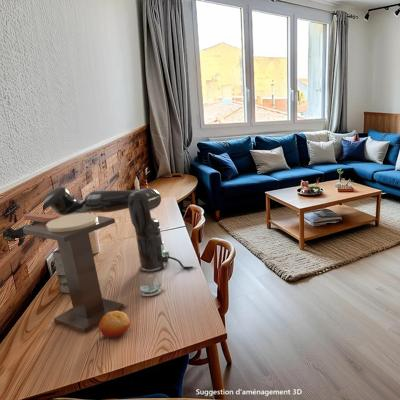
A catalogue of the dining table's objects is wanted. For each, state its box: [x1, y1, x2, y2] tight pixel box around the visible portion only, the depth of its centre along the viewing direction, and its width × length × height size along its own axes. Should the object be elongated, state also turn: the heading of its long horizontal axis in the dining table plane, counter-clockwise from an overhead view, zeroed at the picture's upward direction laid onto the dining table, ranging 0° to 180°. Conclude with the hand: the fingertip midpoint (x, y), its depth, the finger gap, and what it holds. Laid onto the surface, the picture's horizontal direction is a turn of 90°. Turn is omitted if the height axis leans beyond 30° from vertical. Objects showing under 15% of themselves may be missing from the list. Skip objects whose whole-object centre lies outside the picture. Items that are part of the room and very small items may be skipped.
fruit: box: [98, 310, 131, 340], centre depth 102 cm, size 8×8×8 cm
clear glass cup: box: [139, 275, 163, 297], centre depth 124 cm, size 7×6×6 cm
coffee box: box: [51, 248, 70, 294], centre depth 127 cm, size 9×6×16 cm
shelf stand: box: [23, 212, 125, 334], centre depth 108 cm, size 18×16×32 cm
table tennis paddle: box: [22, 212, 99, 232], centre depth 104 cm, size 25×13×2 cm, turn 73°
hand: (26, 225), depth 113 cm, fingers open, 8 cm apart
